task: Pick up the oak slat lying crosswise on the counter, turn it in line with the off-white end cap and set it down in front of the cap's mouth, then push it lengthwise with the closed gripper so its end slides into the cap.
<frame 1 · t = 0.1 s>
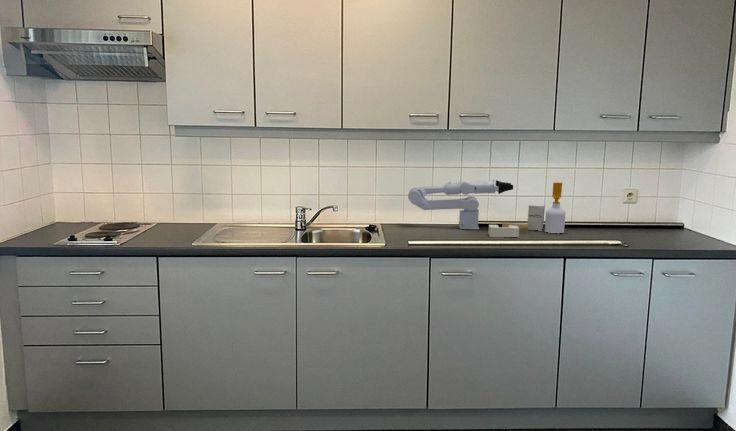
hand: (512, 186, 270), 22 cm above the worktop, tool horizontal, fingers open, 7 cm apart
slat: (514, 232, 269), on the worktop
soap bottle: (554, 232, 268), on the worktop
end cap: (503, 235, 258), on the worktop
supplement box: (535, 230, 275), on the worktop
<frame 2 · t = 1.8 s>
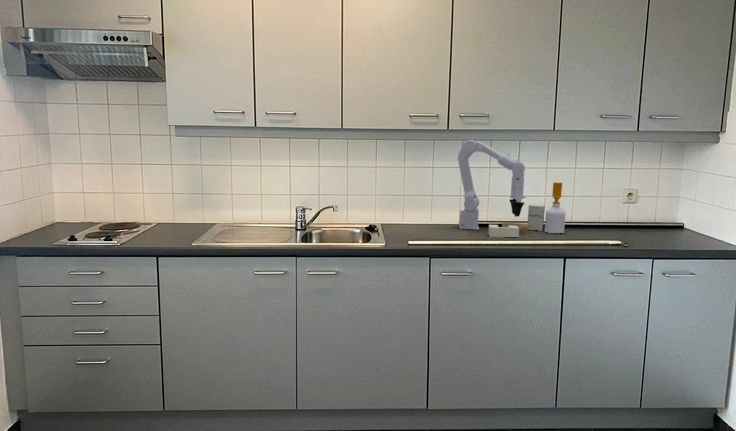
hand: (515, 215, 267), 8 cm above the worktop, tool pointing down, fingers open, 7 cm apart
nothing on the worktop moved.
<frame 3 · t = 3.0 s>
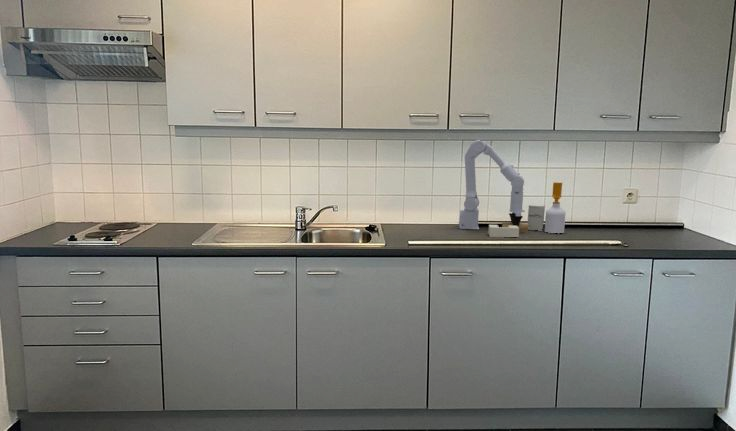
hand: (514, 228, 268), 1 cm above the worktop, tool pointing down, fingers closed on slat, 3 cm apart
slat: (514, 231, 269), on the worktop, touching gripper
everything else where it was.
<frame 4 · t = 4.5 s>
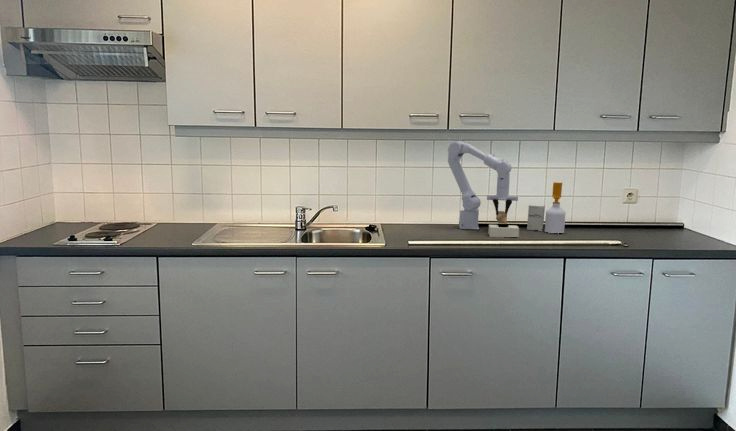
hand: (501, 215, 267), 8 cm above the worktop, tool pointing down, fingers closed on slat, 3 cm apart
slat: (501, 221, 266), point 5 cm above the worktop, touching gripper
everything else where it was.
when the fingers open (2 cm above the worktop, at t = 5.8 s): slat stays where it is, on the worktop.
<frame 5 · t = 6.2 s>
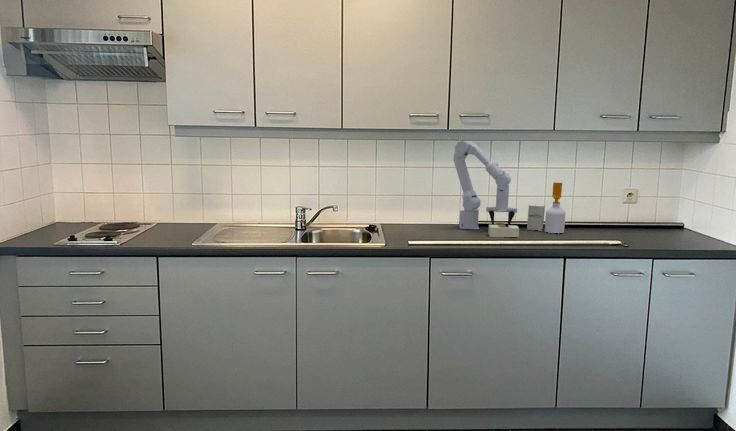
hand: (500, 226, 267), 2 cm above the worktop, tool pointing down, fingers open, 7 cm apart
slat: (500, 232, 267), on the worktop
everything else where it was.
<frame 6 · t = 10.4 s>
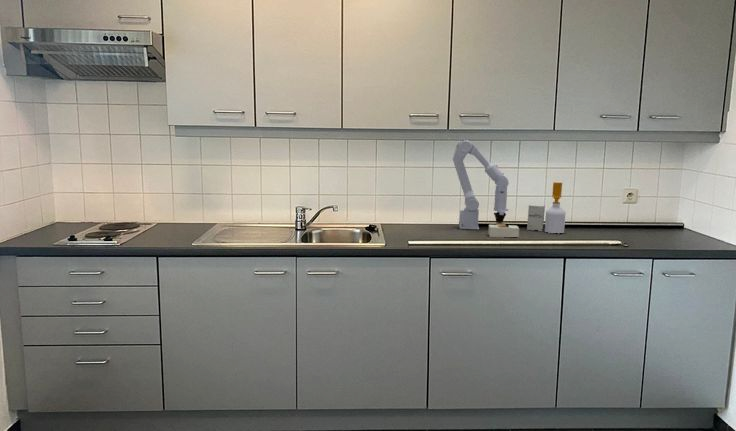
hand: (499, 227, 274), 1 cm above the worktop, tool pointing down, fingers closed
slat: (500, 232, 267), on the worktop, touching gripper
everything else where it was.
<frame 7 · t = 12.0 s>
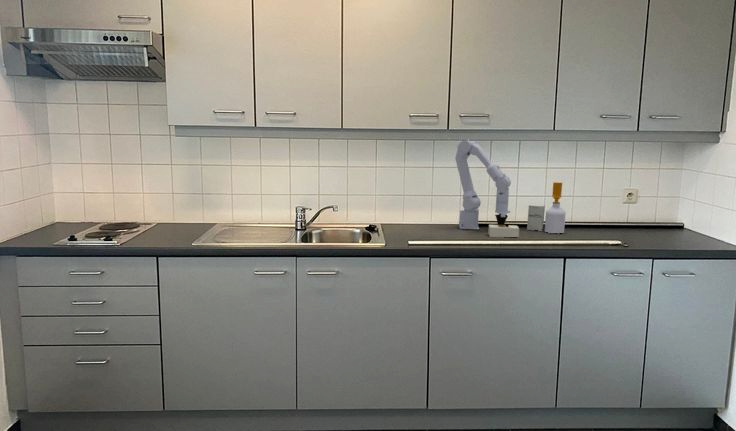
hand: (500, 229, 268), 1 cm above the worktop, tool pointing down, fingers closed
slat: (502, 235, 261), on the worktop
everything else where it was.
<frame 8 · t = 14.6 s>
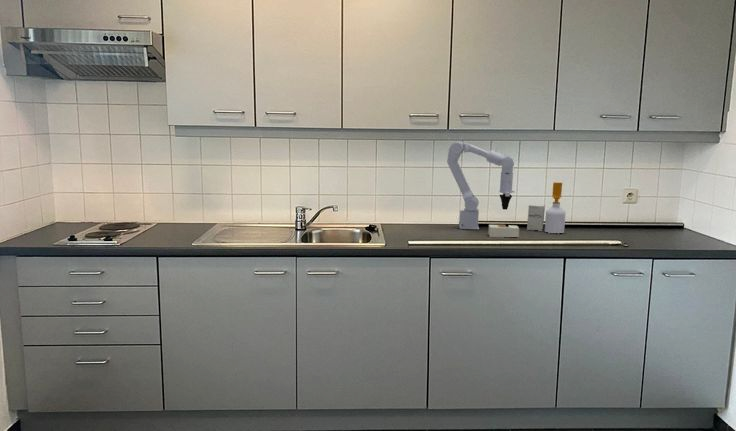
hand: (504, 209, 270), 10 cm above the worktop, tool pointing down, fingers closed
nothing on the worktop moved.
at the end: slat 1.8 cm from the target spot on the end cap, point 0.0 cm above the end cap's base; slat tilted 0° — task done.
